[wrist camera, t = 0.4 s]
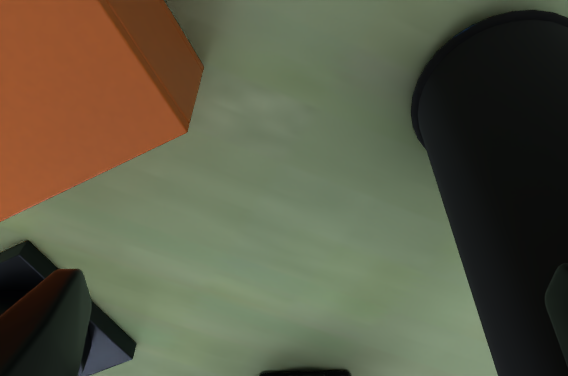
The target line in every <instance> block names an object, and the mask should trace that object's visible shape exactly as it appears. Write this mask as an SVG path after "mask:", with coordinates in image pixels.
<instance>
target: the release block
mask: <svg viewBox="0 0 568 376" xmlns="http://www.w3.org/2000/svg"><path fill="white" fill-rule="evenodd" d="M56 270H58V269H57V268H56V267H55V266H54V265H53V264H52V263H51V262H50V261H49V260H48V259H47V258H46V257H44V256H43V255H42V254H41V253H40V252H39V251H38V250H37V249H36V248H35V247H34V246H33V245H32V244H31V243H30V242H29V241H26V242H23V243H21V244H19V245H17V246H15V247H13V248H10V249H8V250H6V251H4V252H2V253H0V316H1V315H2V314H3V313H5V312H6V311H7V310H8V309H9V308H11V307H12V306H13V305H14V304H15V303H17V302H18V301H19V300H20V299H21V298H23V297H24V296H25V295H26V294H27V293H29V292H30V291H31V290H32V289H33V288H35V287H36V286H37V285H38V284H39V283H41V282H42V281H43V280H44V279H45V278H47V277H48V276H49V275H50V274H51V273H53V272H54V271H56ZM135 348H136V343H135V342H134V341H133V340H132V339H131V338H130V337H128V336H127V335H126V334H125V333H124V332H123V331H122V330H121V329H120V328H119V327H118V326H117V325H116V324H115V323H114V322H113V321H112V320H111V319H110V318H109V317H107V316H106V315H105V314H104V313H103V312H102V311H101V310H100V309H99V308H98V307H97V306H96V305H95V304H94V303H93V302H92V301H91V315H90V320H89V324H88V329H87V334H86V339H85V344H84V348H83V353H82V358H81V363H80V368H79V372H78V376H89V375H92V374H94V373H97V372H100V371H103V370H105V369H108V368H111V367H113V366H116V365H119V364H121V363H124V362H127V361H129V360H132V359H133V356H134V352H135Z"/></svg>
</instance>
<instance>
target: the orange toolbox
mask: <svg viewBox="0 0 568 376" xmlns="http://www.w3.org/2000/svg"><path fill="white" fill-rule="evenodd" d="M106 1H107V3H108V4H109V6H110V7H111V9H112V10H113V12H114V13H115V15H116V16H117V18H118V19H119V21H120V22H121V24H122V25H123V27H124V28H125V30H126V31H127V33H128V34H129V36H130V37H131V39H132V40H133V42H134V43H135V45H136V46H137V48H138V49H139V51H140V52H141V54H142V55H143V57H144V58H145V60H146V61H147V62H148V64H149V65H150V67H151V68H152V70H153V71H154V73H155V74H156V76H157V77H158V79H159V80H160V82H161V83H162V85H163V86H164V88H165V89H166V91H167V92H168V94H169V95H170V97H171V98H172V100H173V101H174V103H175V104H176V106H177V107H178V109H179V110H180V112H181V113H182V115H183V116H184V118H185V119H186V121H187V122H188V124H189V123H190V120H191V116H192V112H193V108H194V104H195V100H196V96H197V93H198V89H199V85H200V81H201V77H202V73H203V70H204V66H203V64H202V63H201V61H200V59H199V58H198V56H197V54H196V53H195V51H194V49H193V48H192V46H191V45H190V43H189V41H188V40H187V38H186V36H185V35H184V33H183V31H182V30H181V28H180V26H179V25H178V23H177V21H176V20H175V18H174V16H173V15H172V13H171V11H170V10H169V8H168V6H167V5H166V3H165V1H164V0H106Z"/></svg>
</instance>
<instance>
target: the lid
mask: <svg viewBox="0 0 568 376" xmlns="http://www.w3.org/2000/svg"><path fill="white" fill-rule="evenodd" d="M188 128H189V124H188V122H187V121H186V119H185V118H184V116H183V115H182V113H181V112H180V110H179V109H178V107H177V106H176V104H175V103H174V101H173V100H172V98H171V97H170V95H169V94H168V92H167V91H166V89H165V88H164V86H163V85H162V83H161V82H160V80H159V79H158V77H157V76H156V74H155V73H154V71H153V70H152V68H151V67H150V65H149V64H148V62H147V61H146V60H145V58H144V57H143V55H142V54H141V52H140V51H139V49H138V48H137V46H136V45H135V43H134V42H133V40H132V39H131V37H130V36H129V34H128V33H127V31H126V30H125V28H124V27H123V25H122V24H121V22H120V21H119V19H118V18H117V16H116V15H115V13H114V12H113V10H112V9H111V7H110V6H109V4H108V3H107V1H106V0H0V222H1V221H3V220H5V219H7V218H9V217H11V216H14V215H16V214H18V213H20V212H22V211H24V210H26V209H28V208H30V207H32V206H34V205H37V204H39V203H41V202H43V201H45V200H47V199H49V198H51V197H53V196H55V195H57V194H60V193H62V192H64V191H66V190H68V189H70V188H72V187H74V186H76V185H78V184H80V183H83V182H85V181H87V180H89V179H91V178H93V177H95V176H97V175H99V174H101V173H103V172H106V171H108V170H110V169H112V168H114V167H116V166H118V165H120V164H122V163H124V162H126V161H129V160H131V159H133V158H135V157H137V156H139V155H141V154H143V153H145V152H147V151H149V150H152V149H154V148H156V147H158V146H160V145H162V144H164V143H166V142H168V141H170V140H172V139H175V138H177V137H179V136H181V135H183V134H185V133H187V132H188Z"/></svg>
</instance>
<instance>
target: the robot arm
mask: <svg viewBox="0 0 568 376" xmlns="http://www.w3.org/2000/svg"><path fill="white" fill-rule="evenodd" d="M545 305H546V308H547V311H548V314H549V316H550V319H551V322H552V325H553V328H554V330H555V333H556V336H557V339H558V341H559V344H560V347H561V350H562V353H563V355H564V358H565V361H566V364H567V367H568V263H563V264H561V265H560V266H558V268H557V269H556V271H555V274H554V276H553V278H552V280H551V282H550V284H549V286H548V288H547V290H546V293H545ZM90 315H91V298H90V295H89V291H88V288H87V284H86V281H85V278H84V275H83V272H82V271H81V270H80V269H58V270H56V271H54V272H53V273H51V274H50V275H49V276H48V277H47V278H45V279H44V280H43V281H42V282H41V283H39V284H38V285H37V286H36V287H35V288H33V289H32V290H31V291H30V292H29V293H27V294H26V295H25V296H24V297H23V298H21V299H20V300H19V301H18V302H17V303H15V304H14V305H13V306H12V307H11V308H9V309H8V310H7V311H6V312H5V313H3V314H2V315H1V316H0V376H78V372H79V368H80V363H81V358H82V353H83V348H84V344H85V339H86V334H87V329H88V324H89V320H90ZM260 376H351V374H350V373H349V372H347V371H331V372H291V373H263V374H261V375H260Z"/></svg>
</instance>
